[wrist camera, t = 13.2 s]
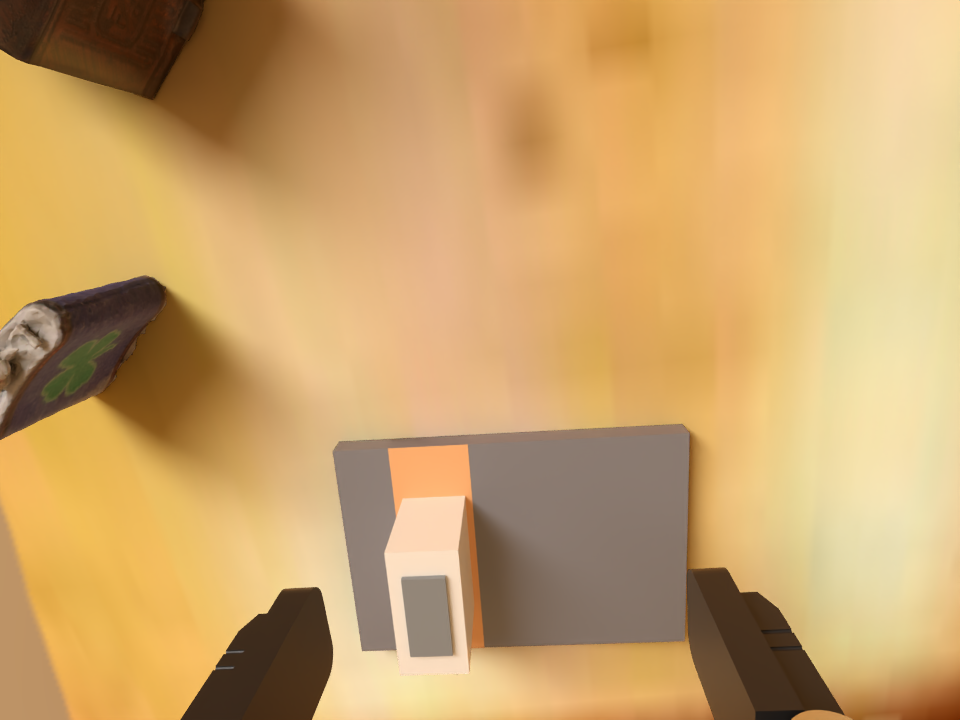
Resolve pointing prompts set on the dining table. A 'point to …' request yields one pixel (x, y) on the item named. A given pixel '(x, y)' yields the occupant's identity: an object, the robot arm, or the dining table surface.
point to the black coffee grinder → (101, 38)
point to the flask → (70, 348)
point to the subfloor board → (535, 530)
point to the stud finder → (431, 586)
